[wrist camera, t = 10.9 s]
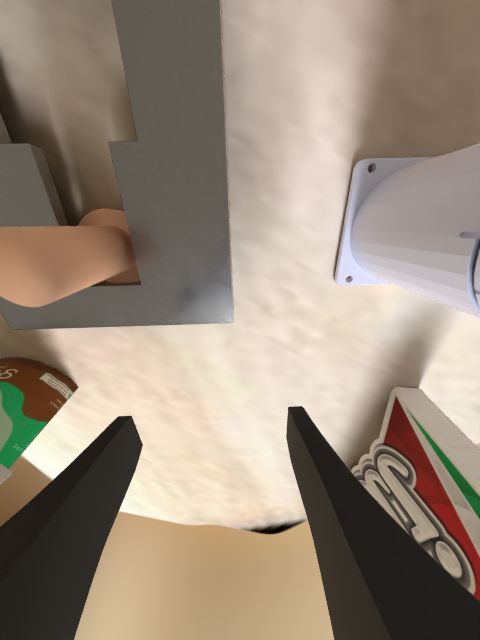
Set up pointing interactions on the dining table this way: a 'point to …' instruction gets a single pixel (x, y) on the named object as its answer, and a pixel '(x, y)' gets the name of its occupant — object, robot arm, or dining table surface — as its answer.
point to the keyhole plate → (149, 179)
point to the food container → (27, 405)
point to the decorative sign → (428, 482)
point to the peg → (65, 258)
